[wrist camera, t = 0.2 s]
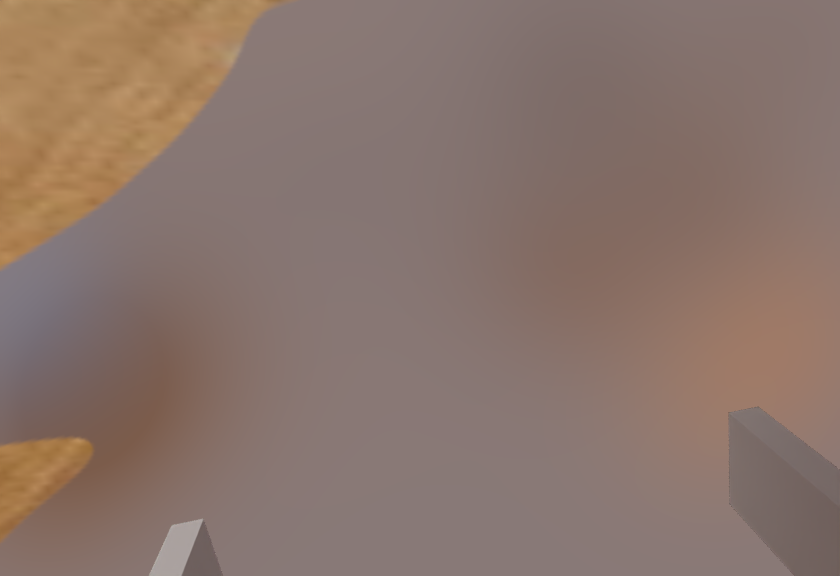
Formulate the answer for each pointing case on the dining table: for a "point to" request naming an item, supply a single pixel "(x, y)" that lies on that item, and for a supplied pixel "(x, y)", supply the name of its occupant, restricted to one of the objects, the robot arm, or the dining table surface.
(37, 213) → the dining table surface
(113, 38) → the dining table surface
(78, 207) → the dining table surface
